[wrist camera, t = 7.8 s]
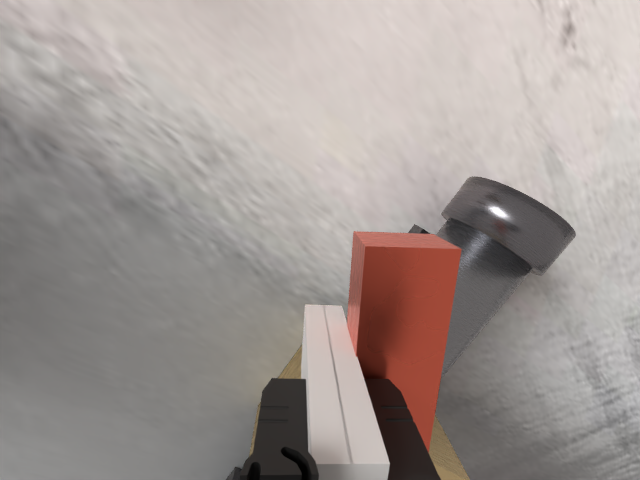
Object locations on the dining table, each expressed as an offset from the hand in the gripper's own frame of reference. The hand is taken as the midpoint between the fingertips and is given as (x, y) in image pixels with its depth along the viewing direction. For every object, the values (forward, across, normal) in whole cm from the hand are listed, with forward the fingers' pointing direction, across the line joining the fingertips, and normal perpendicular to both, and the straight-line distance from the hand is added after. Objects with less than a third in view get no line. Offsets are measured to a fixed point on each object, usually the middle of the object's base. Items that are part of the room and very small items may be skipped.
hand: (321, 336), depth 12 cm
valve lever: (-1, +2, -3) cm, 4 cm away
